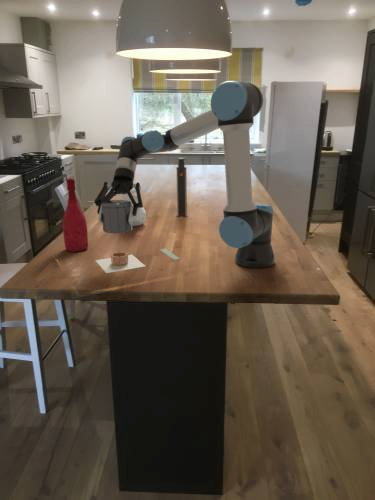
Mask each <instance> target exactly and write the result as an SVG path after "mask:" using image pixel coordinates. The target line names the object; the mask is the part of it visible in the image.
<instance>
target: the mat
mask: <svg viewBox="0 0 375 500" xmlns="http://www.w3.org/2000/svg"><path fill="white" fill-rule="evenodd" d="M160 251H161V252H162V253H164V254H165V255H166V256H169V257H170V259H172V260H175V261H177V260H180V259H181V258H180V257H179V256H176V255H175V253H173V252H171V251H169V250H168V249H166V248H162V249H161V248H160Z"/></svg>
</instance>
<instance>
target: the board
mask: <svg viewBox="0 0 375 500" xmlns="http://www.w3.org/2000/svg"><path fill="white" fill-rule="evenodd" d="M94 261H95V262H96V263H97V265H98V266H99V267H100V268H101V269H102V270H103V272H105V273H106V274H110V273H115V272H116V273H117V272H121V271H127V270H133V269H138V268H139V269H140V268H144V267H146V265H145V264H144V263H142V261H140V260H139V259H138V258H137V257H136V256H134V255H133V254H128V263H127V264H125V265H121V266H116V265H114V264H112V262H111V257H108V258H101V259H96V260H94Z"/></svg>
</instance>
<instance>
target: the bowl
mask: <svg viewBox="0 0 375 500" xmlns="http://www.w3.org/2000/svg"><path fill="white" fill-rule="evenodd" d="M128 255H129V253H127V252H126V251H125V252H123V251H117V252H113V253H111V254H110V258H111V262H112V264H114V265H116V266H121V265H125V264H127V263H128Z"/></svg>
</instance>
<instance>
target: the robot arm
mask: <svg viewBox="0 0 375 500" xmlns="http://www.w3.org/2000/svg"><path fill="white" fill-rule="evenodd" d="M263 104H264V97H263V93H262V91H261V89H260V88H259V87H258V86H257V85H255V84H253V83H250V82H243V81H239V80H226V81H224V82H221V83H220V84H219V85H218V86H217V87H216V88H215V89H214V90H213V93H212V94H211V98H210V109H208V110H206V111H204V112H203V113H201V114H197V115H196V116H193V117H192V118H191V119H188V120H186V121H184V122H182V123H180V124H178V125H176V126H174V127H172V128H170V129H168V130H166V131H163V132H160V131H158V130H157V129H151V130H149V131H146V132H144V133H143V134H141V135H139V136H137V137H135V136H132V135H130V136H124V137H123V138H122V140H121V143H120V146H119V151H118V156H117V161H116V166H115V171H114V175H113V180H112V182H107V181H104V182H103V187H102V188H101V190H100V192H99V193H98V194H97V196H96V198H95V200H94V201H93V202H94V204H95V206H96V207H97V211H96V212H97V215H98V218H97V221H98V223H99V224H102V225H103V221H102V207H101V206H102V203H103V202H105V201H110V200H112V199H113V198H114V197H116V196H117V195H121V194H128V196H129V198H130V200H131V202H132V204H133V205H131V209H130V214H129V220H128V221H129V224H130V225H132V222H133V216H136V214H137V209H138V208H142V207H143V208H144V205H143V198H142V195H141V189H142V186H141V185H140V182H135V175H136V171H137V170H136V169H137V163H138V160H140V159H142V158H144V157H146V156H148V155H150V154H157V153H164V152H165V153H166V152H173V151H176V150H178V149H179V148H180V147H181V146H182V145H185V144H188V143H189V142H193V141H195V140H197V139H200V138H201V137H203V136H205V135H208V134H210V133H212V132H214V131H217V130H220V131H221V132H222V133H223V135H222V137H223V152H224V154H223V155H224V170H225V171H224V172H225V183H226V184H225V186H226V187H225V188H226V204H225V206H223V209H222V210H223V213H222V214H223V219H222V220H221V221H220V223H219V226H218V234H219V237H220V238H221V240H222V241H223V242H224V243H225V244H226V246H229V247H231V248H233V249H237V250H236V253H235V255H234V262H235V263H236V264H237V265H238V266H241V267H244V268H251V269H263V268H270V267H272V266H273V265H274V264H275V254H274V251H273V250H274V249H273V245H272V234H273V233H272V232H273V219H274V213H273V212H274V208H273V206H272V205H271V204H268V203H260V202H253V189H252V188H253V187H252V184H253V183H252V168H251V167H252V165H251V141H250V140H251V139H250V136H251V135H250V129H251V128H252V127H253V125H254V123H255V122H254V119H255V118H254V117H256V116H257V115H258V114H259V113H260V111H261V110H262V108H263V106H264V105H263ZM133 181H134V182H135V183H136V184H133ZM133 187H134V188H135V190H136V193H137V198H138V203H136V202H135V200H134V198H133V196H132V194H131V192H130V190H131V189H132V188H133ZM108 191H109V192H108Z"/></svg>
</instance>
